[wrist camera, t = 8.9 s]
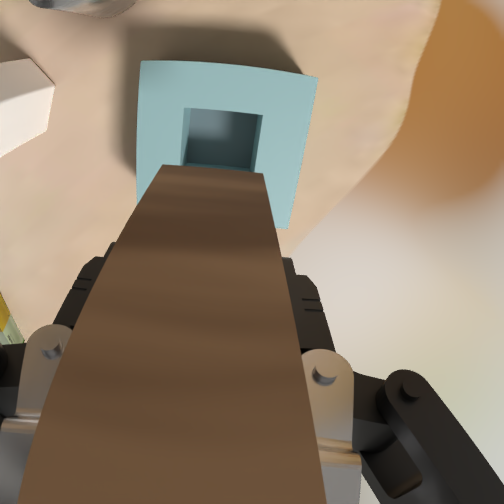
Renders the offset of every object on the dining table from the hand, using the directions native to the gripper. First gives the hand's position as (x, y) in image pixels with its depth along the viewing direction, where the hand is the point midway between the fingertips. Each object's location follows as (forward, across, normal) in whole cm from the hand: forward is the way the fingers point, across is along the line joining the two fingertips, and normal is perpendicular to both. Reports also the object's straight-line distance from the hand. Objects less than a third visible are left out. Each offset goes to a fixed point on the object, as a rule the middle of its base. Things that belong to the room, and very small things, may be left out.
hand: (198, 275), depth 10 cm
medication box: (+20, +31, +27) cm, 45 cm away
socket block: (+19, 0, 0) cm, 19 cm away
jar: (+20, +20, -3) cm, 28 cm away
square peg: (+4, 0, 0) cm, 4 cm away
